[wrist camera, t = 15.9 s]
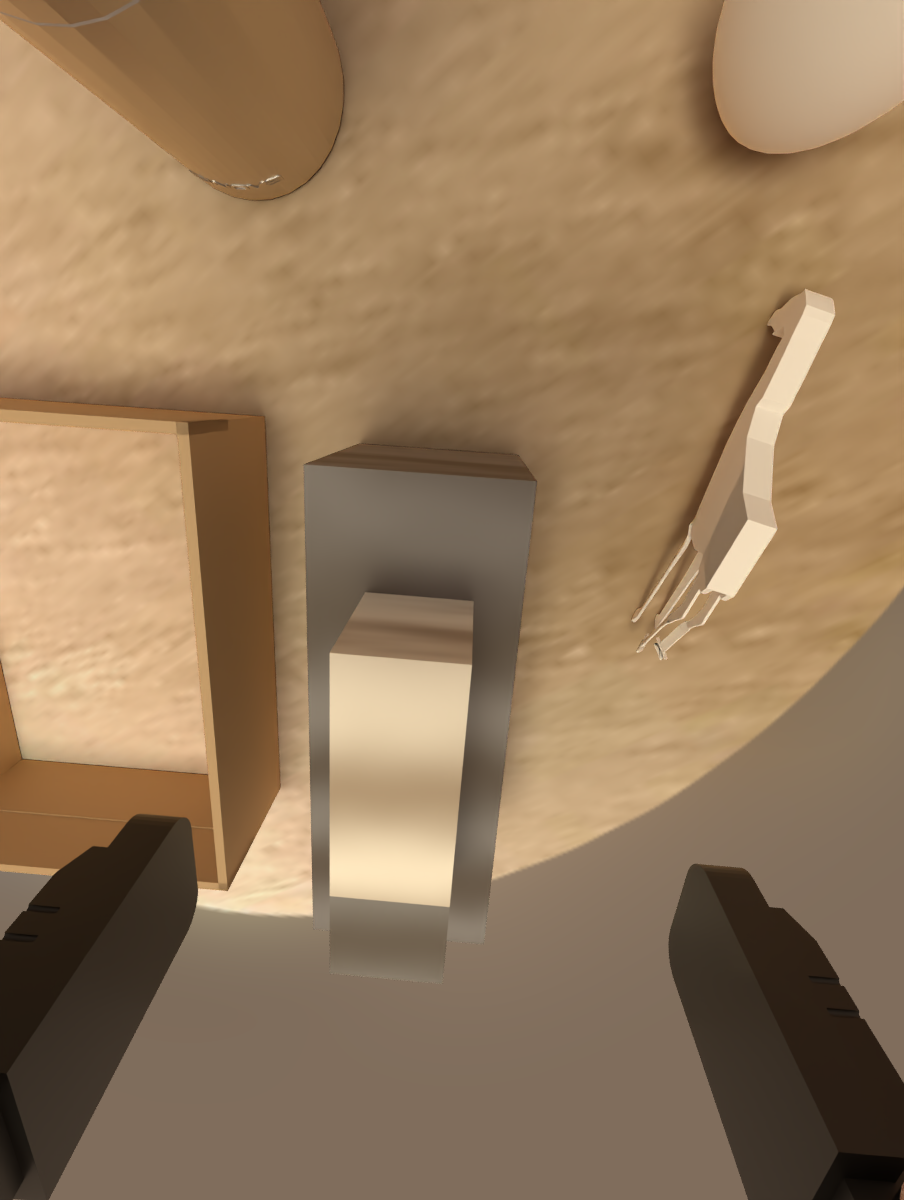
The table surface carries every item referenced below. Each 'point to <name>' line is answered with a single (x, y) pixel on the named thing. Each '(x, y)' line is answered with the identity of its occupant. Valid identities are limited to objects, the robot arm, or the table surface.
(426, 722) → the block
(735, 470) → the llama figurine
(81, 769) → the carton
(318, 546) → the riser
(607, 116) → the table surface
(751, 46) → the sauce bottle
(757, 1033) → the robot arm
